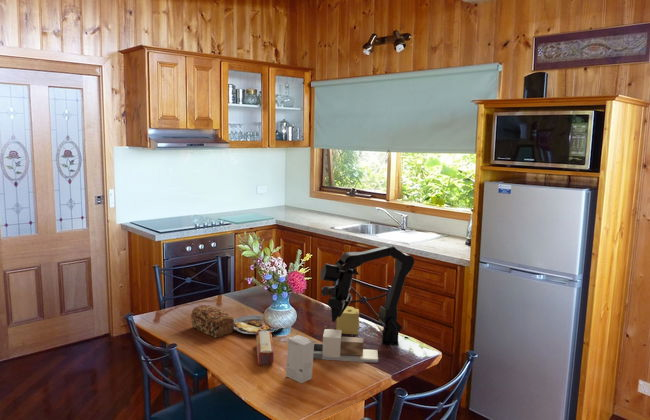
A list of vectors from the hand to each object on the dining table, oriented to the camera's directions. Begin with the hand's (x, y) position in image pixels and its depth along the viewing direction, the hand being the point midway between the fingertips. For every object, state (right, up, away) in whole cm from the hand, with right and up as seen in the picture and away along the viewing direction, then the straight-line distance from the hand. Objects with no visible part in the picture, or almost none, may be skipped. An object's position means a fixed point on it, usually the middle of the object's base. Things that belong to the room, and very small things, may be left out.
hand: (335, 319), depth 224 cm
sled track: (+3, -13, -6) cm, 15 cm away
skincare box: (-14, -16, -27) cm, 34 cm away
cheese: (+6, -10, +22) cm, 24 cm away
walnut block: (+4, -12, -6) cm, 14 cm away
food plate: (-35, -9, +22) cm, 42 cm away
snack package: (-29, -13, -8) cm, 32 cm away
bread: (-55, -9, +17) cm, 58 cm away
